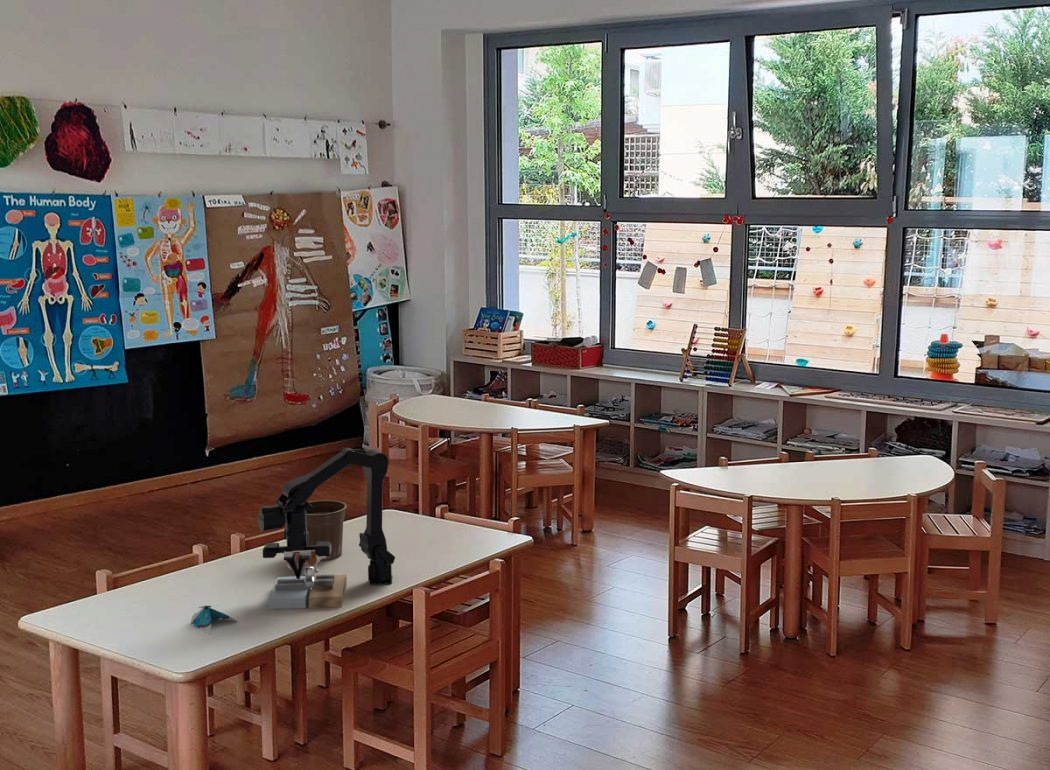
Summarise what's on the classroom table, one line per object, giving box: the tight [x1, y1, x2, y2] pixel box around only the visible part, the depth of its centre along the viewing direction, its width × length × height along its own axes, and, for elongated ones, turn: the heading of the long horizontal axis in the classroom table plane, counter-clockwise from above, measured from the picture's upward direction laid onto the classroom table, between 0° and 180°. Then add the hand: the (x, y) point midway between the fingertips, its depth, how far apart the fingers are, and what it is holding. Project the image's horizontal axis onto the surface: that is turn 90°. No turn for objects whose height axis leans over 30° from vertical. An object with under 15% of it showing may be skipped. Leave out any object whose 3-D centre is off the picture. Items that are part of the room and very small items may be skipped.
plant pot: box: [306, 499, 347, 562], centre depth 345 cm, size 16×16×16 cm
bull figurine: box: [285, 552, 326, 574], centre depth 330 cm, size 4×13×8 cm, turn 79°
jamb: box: [308, 574, 348, 609], centre depth 310 cm, size 9×18×5 cm, turn 5°
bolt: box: [304, 565, 333, 587], centre depth 309 cm, size 8×2×6 cm, turn 95°
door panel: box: [267, 575, 312, 610], centre depth 309 cm, size 10×18×5 cm, turn 5°
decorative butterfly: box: [190, 604, 238, 634], centre depth 290 cm, size 10×6×10 cm
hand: (298, 578), depth 309 cm, fingers closed
